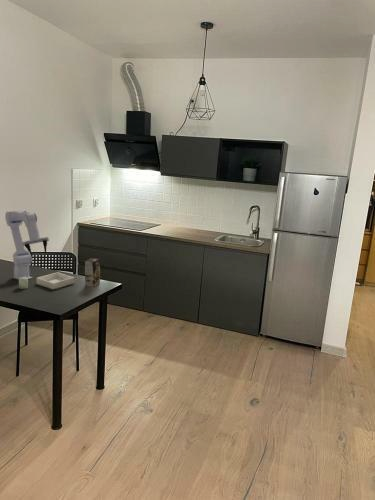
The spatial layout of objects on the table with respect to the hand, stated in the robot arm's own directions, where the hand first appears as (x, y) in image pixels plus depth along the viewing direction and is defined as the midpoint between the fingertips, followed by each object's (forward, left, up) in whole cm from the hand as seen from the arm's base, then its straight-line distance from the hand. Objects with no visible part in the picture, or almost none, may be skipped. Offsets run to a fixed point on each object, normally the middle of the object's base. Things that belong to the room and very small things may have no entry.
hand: (38, 254), depth 213 cm
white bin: (-2, +13, -22) cm, 25 cm away
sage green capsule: (-10, -4, -22) cm, 24 cm away
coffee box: (+15, +28, -22) cm, 39 cm away
